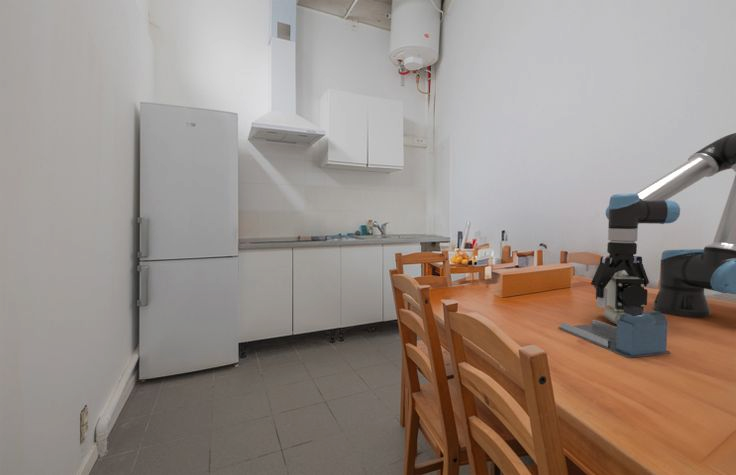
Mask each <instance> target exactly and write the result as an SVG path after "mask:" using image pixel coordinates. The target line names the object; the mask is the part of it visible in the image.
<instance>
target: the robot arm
mask: <svg viewBox="0 0 736 475" xmlns="http://www.w3.org/2000/svg"><path fill="white" fill-rule="evenodd" d="M730 169H732V170H733V171H734V172H735V173H736V132H735V133H730V134H728V135H725V136H723V137H720V138H719V139H716V140H715V141H713V142H711V143H709V144H708V145H706V146H704V147H703V148H701V149H700V150H698V151H696V152H695V153H693V154H691V155H690V156H689V157H688V159H687V161H685V162H684V163H683V164H680V165H679V166H677V167H676V168H674V169H673V170H671V171H670V172H668V173H667V174H666V173H665V175H662V176H661V177H660V178H658V179H656V180H655V181H653V182H652V183H651V184H649V185H647V186H646V187H643V188H642V189H640V190H639V191H636V193H618V194H617V193H616V194H612V195H611V196H610V199H609V203H608V206H607V207H606V210H605V217H606V219H607V220H608V227H607V228H608V231H607V232H608V233H607V240H608V241H609V242H607V248H606V249H607V250H606V251H607V253H608V254H609V256H601V257H600V259H599V260H600V261H599V264H598V267H597V269H596V272H595V273H594V275H593V278H592V280H591V282H590V285H591V286H593V287H594V286H596V287H597V297H598V299H596V300H597V304H596V305H597V307H598V308H601V309H603V310H604V309H605V310H606V309H607V308H608V306H607V288H605V287H606V285H607V284H608V283H609V281H610V280H611V277H613V276H614V274H615V273H616V272H618V271H622V272H623V271H625V272H626V275H629V276H634V277H638V278H640V279H643V280H644V288H646V287H647V286H648V285H649V284H650V280H649V278H648V275H647V272H646V270H645V267H644V264H643V256H639V255H636V254H637V250H638V249H637V247H638V244H637V243H636V242H637V241H638V228H639V227H638V226H639V224H648V225H649V224H650V225H651V224H652V225H653V224H660V225H664V224H671V223H674V222H676V221H677V220H678V219H679V217H680V215H681V207H680V205H679V204H678V203H677V202H676V201H675V200H671V198H672V197H674V196H676V195H677V194H679V193H681V192H683V191H684V190H686V189H687V188H689V187H691V186H692V185H694V184H695V183H697V182H699V181H701V180H702V179H703V178H705V177H706V178H709V177H713V176H715V175H717V174H718V173H720V172H723V171H727V170H730ZM669 199H670V200H669ZM596 281H597V282H596ZM659 281H660V284H659V285H660V288H659V291H658V293H657V295H656V297H655V299H654V301H653V307H652V308H653V309H654V310H655V311H659V312H661V313H663V314H668V315H672V316H679V317H684V318H685V317H686V318H699V319H700V318H701V319H702V318H710V316H711V308H710V305H709V302H708V301H707V298H706V295H705V290H710V291H714V292H718V293H722V294H730V295H736V174H735V175H734V178H733V182H732V185H731V188H730V191H729V194H728V196H727V199H726V203H725V205H724V209H723V211H722V215H721V218H720V220H719V224H718V227H717V229H716V233H715V236H714V238H713V242H711V243H710V244H707V245H705V246H704V249H703V248H702V249H700V248H699V249H698V248H696V249H694V248H693V249H689V248H688V249H666V250H664V251H662V252H661V259H660V280H659Z"/></svg>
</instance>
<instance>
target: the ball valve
mask: <svg viewBox="0 0 736 475" xmlns="http://www.w3.org/2000/svg"><path fill="white" fill-rule="evenodd" d="M596 282H597V281H596ZM593 287H594V289H595V299H596V300H597V299H598V297H597V287H596V286H594V285H593ZM605 288H607V309H605V310H604V311H603V314H604V317H605V319H607V321H609V322H611V323H613V324H615V325H616V326H617V320H620V316H621V315H622V314H626V313H624V307H626V306H635V307H639V308H643V309H644V306H647V305H648V291H649V290H648V289H646V288H645V287H644V279H640V278H638V277H634V276H629V275H628V274H627V273H623V271H618V272H616V273H615V274H614V276H613V277H611V280H610V281H609V283H608V284H607V285H606V287H605Z"/></svg>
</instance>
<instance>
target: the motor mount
mask: <svg viewBox="0 0 736 475" xmlns="http://www.w3.org/2000/svg"><path fill="white" fill-rule="evenodd" d="M624 313H626V314H622V315H621V316H620V320H617V325H616V326H615V325H611V324H609V323H606V322H603V321H600V320H598V319H592V323H589V324H581V325H580V324H579V325H576V324H575V325H571V324H568V323H567V322H564V321H562V322H561V326H558V328H557V329H559V330H561V331H563V332H566V333H567V334H570V335H572V336H575V337H578V338H579V339H582V340H585V341H587V342H590V343H592V344H594V345H597V346H598V347H601V348H604V349H606V350H609V351H611V352H613V353H615V354H618V355H620V356H623V357H625V358H627V359H631V358H632V359H633V358H642V357H650V356H658V355H666V354H667V355H669V354H671V351H669V350H667V345H668V344H667V340H668V320H667V319H668V318H667V316H666V315H665V313H663V312H659V311H657V310H655V311H652V310H651V311H644V307H643V308H639V307H635V306H626V307H624Z"/></svg>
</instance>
